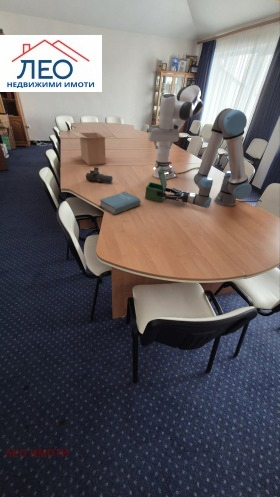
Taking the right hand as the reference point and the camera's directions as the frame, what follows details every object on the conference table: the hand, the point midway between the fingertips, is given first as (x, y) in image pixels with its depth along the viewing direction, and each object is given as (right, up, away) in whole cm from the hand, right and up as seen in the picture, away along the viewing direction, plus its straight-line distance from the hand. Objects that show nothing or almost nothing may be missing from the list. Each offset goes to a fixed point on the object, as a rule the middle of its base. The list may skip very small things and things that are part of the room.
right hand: (159, 191), depth 164 cm
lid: (+1, +7, -7) cm, 10 cm away
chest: (-3, -4, +4) cm, 7 cm away
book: (-28, -13, -10) cm, 33 cm away
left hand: (0, +24, -17) cm, 29 cm away
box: (-65, +51, +73) cm, 110 cm away
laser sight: (-50, +15, +25) cm, 58 cm away
